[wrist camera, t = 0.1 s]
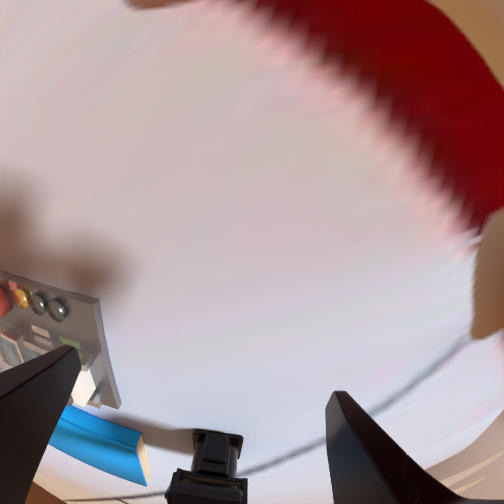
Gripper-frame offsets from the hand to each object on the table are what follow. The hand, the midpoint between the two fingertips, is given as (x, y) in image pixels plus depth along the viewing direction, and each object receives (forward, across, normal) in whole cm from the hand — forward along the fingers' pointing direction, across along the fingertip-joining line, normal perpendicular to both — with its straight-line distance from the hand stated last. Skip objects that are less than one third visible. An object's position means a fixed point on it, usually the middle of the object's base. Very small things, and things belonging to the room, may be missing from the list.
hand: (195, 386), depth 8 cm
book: (+15, +24, +37) cm, 47 cm away
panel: (+15, +23, +15) cm, 31 cm away
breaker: (+13, +17, +18) cm, 28 cm away
